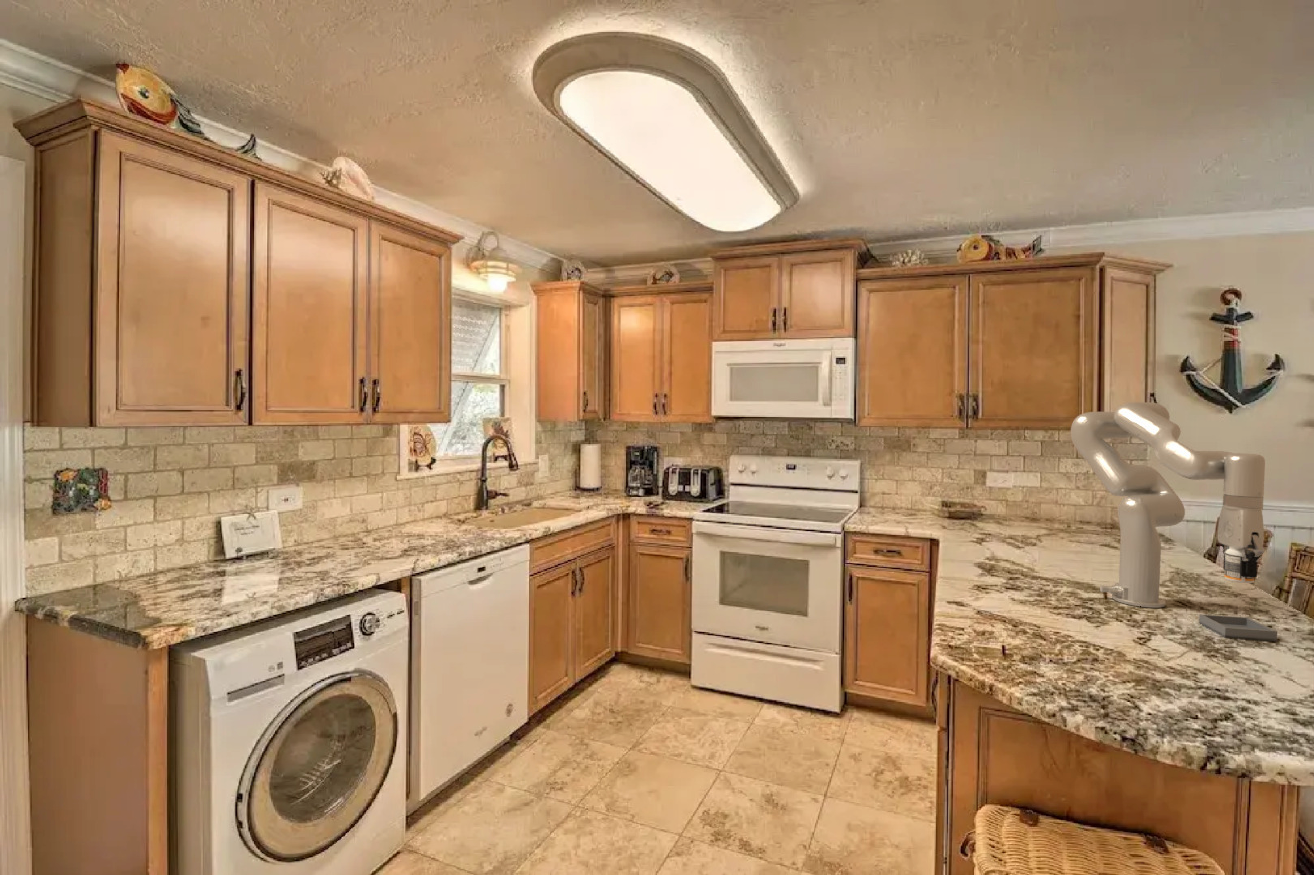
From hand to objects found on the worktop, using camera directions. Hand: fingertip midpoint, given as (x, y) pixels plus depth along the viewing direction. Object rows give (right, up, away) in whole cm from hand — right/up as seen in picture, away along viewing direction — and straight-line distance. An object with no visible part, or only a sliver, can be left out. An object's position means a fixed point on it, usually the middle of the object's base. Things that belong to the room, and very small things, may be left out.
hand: (1239, 572), depth 162 cm
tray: (0, -15, +1) cm, 15 cm away
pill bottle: (0, -2, 0) cm, 2 cm away
